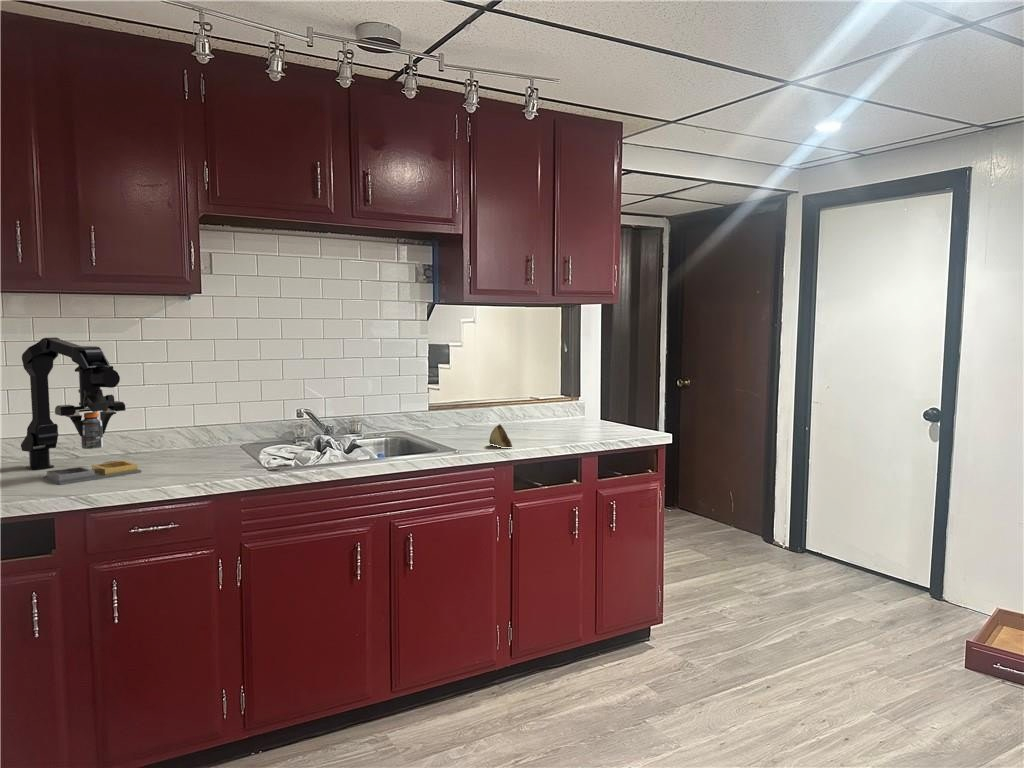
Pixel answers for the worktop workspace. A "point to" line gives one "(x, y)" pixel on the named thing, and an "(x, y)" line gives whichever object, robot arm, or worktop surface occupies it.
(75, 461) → the worktop surface
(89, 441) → the pill bottle
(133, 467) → the faceplate
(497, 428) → the rock
